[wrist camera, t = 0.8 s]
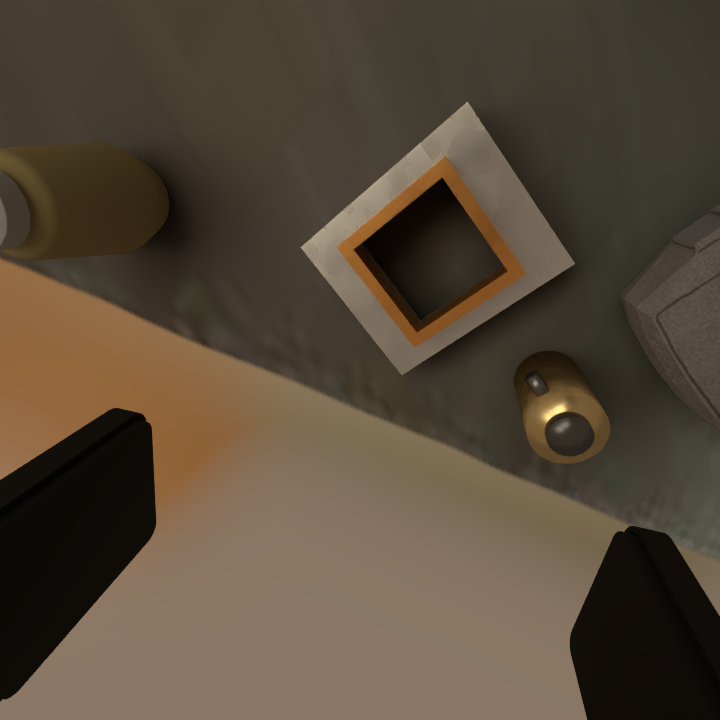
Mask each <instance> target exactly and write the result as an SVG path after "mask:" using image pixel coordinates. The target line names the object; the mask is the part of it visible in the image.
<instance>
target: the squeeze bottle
mask: <svg viewBox="0 0 720 720" xmlns="http://www.w3.org/2000/svg"><path fill="white" fill-rule="evenodd" d="M169 206H170V203H169V198H168V192H167V188H166V187H165V185H164V183H163V181H162V179H161V178H160V176H159V175H158V174H157V173H156V172H155V171H154V170H153V169H152V168H151V167H150V166H149V165H147V164H146V163H144V162H143V161H141V160H139V159H138V158H136V157H134V156H133V155H131V154H129V153H128V152H126V151H124V150H123V149H120V148H118V147H115V146H113V145H110V144H108V143H105V142H92V143H75V144H58V145H41V146H24V147H7V148H0V251H2V252H3V253H5V254H7V255H9V256H12V257H14V258H17V259H19V260H21V261H28V260H48V259H60V258H73V257H85V256H98V255H110V254H122V253H130V252H132V251H134V250H136V249H137V248H139V247H141V246H143V245H144V244H145V243H146V242H147V241H148V240H149V239H150V238H151V237H152V236H153V235H154V234H156V233H157V232H158V231H159V230H160V229H161V227H162V226H163V224H164V223H165V221H166V219H167V218H168V212H169Z"/></svg>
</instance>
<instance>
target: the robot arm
mask: <svg viewBox="0 0 720 720" xmlns="http://www.w3.org/2000/svg"><path fill="white" fill-rule="evenodd" d="M152 445H153V444H152V428H151V425H150V423H148V422H146V418H145V417H144V415H143V414H141V413H137V412H132V411H128V410H124V409H119V408H113V409H111V410H109V411H107V412H106V413H104V414H103V415H101V416H99V417H98V418H96V419H95V420H93V421H92V422H90V423H89V424H87V425H85V426H84V427H82V428H81V429H79V430H78V431H76V432H74V433H73V434H72V435H70V436H68V437H67V438H65V439H64V440H62V441H60V442H59V443H58V444H56V445H54V446H53V447H51V448H50V449H48V450H47V451H45V452H43V453H42V454H40V455H39V456H37V457H36V458H34V459H32V460H31V461H29V462H28V463H26V464H25V465H23V466H22V467H20V468H18V469H17V470H15V471H14V472H12V473H11V474H9V475H8V476H6V477H5V478H3V479H1V480H0V701H1V700H2V699H8V698H10V697H11V696H13V695H14V694H15V693H17V691H19V690H20V688H21V687H22V686H23V685H24V684H25V682H26V681H28V679H29V678H30V677H31V676H32V675H33V673H34V672H35V671H36V670H37V669H38V668H39V667H40V666H41V664H42V663H43V662H44V661H45V660H46V659H47V657H48V656H49V655H50V654H51V653H52V652H53V651H54V649H55V648H56V647H57V646H58V645H59V643H60V642H61V641H62V640H63V639H64V638H65V637H66V635H67V634H68V633H69V632H70V631H71V630H72V628H74V626H75V625H76V624H77V623H78V622H79V621H80V619H81V618H82V617H83V616H84V615H85V614H86V613H87V611H88V610H89V609H90V608H91V607H92V606H93V604H94V603H95V602H96V601H97V600H98V599H99V597H100V596H101V595H102V594H103V593H104V592H105V590H106V589H107V588H108V587H109V586H110V585H111V584H112V583H113V581H114V580H115V579H116V578H117V577H118V576H119V574H120V573H121V572H122V571H123V570H124V569H125V567H126V566H127V565H128V564H129V563H130V562H131V561H132V560H133V558H134V557H135V556H136V555H137V554H138V553H139V551H140V550H141V549H142V548H143V547H144V546H145V544H146V543H147V542H148V541H149V540H150V538H151V536H152V535H153V532H154V530H155V526H156V510H155V509H156V508H155V486H154V465H153V446H152ZM570 651H571V656H572V660H573V664H574V668H575V672H576V676H577V680H578V684H579V688H580V692H581V696H582V700H583V704H584V708H585V712H586V716H587V720H720V616H719V615H718V613H717V611H716V610H715V608H714V607H713V605H712V603H711V602H710V600H709V599H708V597H707V595H706V594H705V592H704V591H703V589H702V587H701V586H700V584H699V582H698V581H697V579H696V578H695V576H694V574H693V573H692V571H691V570H690V568H689V566H688V565H687V563H686V562H685V560H684V558H683V557H682V555H681V553H680V552H679V551H678V549H677V547H676V545H675V544H674V542H673V541H672V539H671V538H670V537H669V536H668V535H667V534H665V533H662V532H657V531H653V530H649V529H644V528H640V527H636V526H629V527H628V528H627V529H626V530H625V532H621V531H619V532H617V533H616V534H615V535H614V537H613V539H612V541H611V543H610V546H609V548H608V550H607V553H606V555H605V557H604V559H603V562H602V564H601V566H600V568H599V570H598V573H597V575H596V577H595V579H594V582H593V584H592V586H591V588H590V591H589V593H588V595H587V598H586V600H585V602H584V604H583V606H582V609H581V611H580V614H579V616H578V618H577V620H576V622H575V624H574V627H573V629H572V632H571V636H570Z"/></svg>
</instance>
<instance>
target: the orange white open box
mask: <svg viewBox="0 0 720 720" xmlns="http://www.w3.org/2000/svg"><path fill="white" fill-rule="evenodd" d="M442 178H443V179H444V181H445V182H446V183H447V185H448V186H449V188H450V189H451V191H452V192H453V193H454V195H455V196H456V198H457V199H458V201H459V202H460V203H461V205H462V206H463V208H464V209H465V211H466V212H467V213H468V215H469V216H470V218H471V219H472V221H473V222H474V223H475V225H476V226H477V228H478V229H479V231H480V232H481V233H482V235H483V236H484V238H485V239H486V241H487V242H488V244H489V245H490V246H491V248H492V249H493V251H494V252H495V254H496V255H497V256H498V258H499V259H500V261H501V262H502V264H501V265H500V266H498V267H497V268H496V269H494V270H493V271H491V272H490V273H488V274H487V275H485V276H484V277H482V278H481V279H480V280H478V281H477V282H475V283H474V284H472V285H471V286H469V287H468V288H466V289H465V290H464V291H462V292H461V293H459V294H458V295H456V296H455V297H453V298H452V299H450V300H449V301H448V302H446V303H445V304H443V305H442V306H440V307H439V308H437V309H436V310H434V311H433V312H432V313H430V314H429V315H427V316H426V317H424V318H423V319H421V320H420V319H419V317H418V316H417V315H416V313H415V312H414V311H413V309H412V308H411V307H410V305H409V304H408V303H407V302H406V300H405V299H404V298H403V296H402V295H401V294H400V292H399V291H398V290H397V288H396V287H395V286H394V284H393V283H392V282H391V280H390V279H389V278H388V276H387V275H386V274H385V272H384V271H383V270H382V269H381V267H380V266H379V265H378V263H377V262H376V261H375V259H374V258H373V257H372V255H371V254H370V253H369V251H368V250H367V249H366V247H365V246H364V245H363V243H364V242H365V241H366V240H367V239H368V238H370V237H371V236H372V235H373V234H375V233H376V232H377V231H378V230H379V229H381V228H382V227H383V226H384V225H386V224H387V223H388V222H389V221H390V220H392V219H393V218H394V217H395V216H397V215H398V214H399V213H400V212H401V211H403V210H404V209H405V208H406V207H408V206H409V205H410V204H411V203H412V202H414V201H415V200H416V199H417V198H419V197H420V196H421V195H422V194H424V193H425V192H426V191H427V190H428V189H430V188H431V187H432V186H433V185H435V184H436V183H437V182H438V181H439V180H441V179H442ZM301 248H302V250H303V251H304V252H305V253H306V255H307V256H308V257H309V258H310V260H311V261H312V262H313V263H314V265H315V266H316V267H317V269H318V270H319V271H320V272H321V274H322V275H323V276H324V277H325V279H326V280H327V281H328V282H329V284H330V285H331V286H332V288H333V289H334V290H335V291H336V293H337V294H338V295H339V296H340V298H341V299H342V300H343V301H344V303H345V304H346V305H347V307H348V308H349V309H350V310H351V312H352V313H353V314H354V315H355V317H356V318H357V319H358V321H359V322H360V323H361V324H362V326H363V327H364V328H365V329H366V331H367V332H368V333H369V334H370V336H371V337H372V338H373V340H374V341H375V342H376V343H377V345H378V346H379V347H380V348H381V350H382V351H383V352H384V353H385V355H386V356H387V357H388V359H389V360H390V361H391V362H392V364H393V365H394V366H395V367H396V369H397V370H398V371H399V372H400V374H401V375H403V374H404V373H406V372H407V371H409V370H411V369H412V368H414V367H415V366H417V365H418V364H420V363H421V362H423V361H425V360H426V359H428V358H429V357H431V356H432V355H434V354H435V353H437V352H439V351H440V350H442V349H443V348H445V347H446V346H448V345H449V344H451V343H453V342H454V341H456V340H457V339H459V338H460V337H462V336H463V335H465V334H467V333H468V332H470V331H471V330H473V329H474V328H476V327H477V326H479V325H481V324H482V323H484V322H485V321H487V320H488V319H490V318H492V317H493V316H495V315H496V314H498V313H499V312H501V311H502V310H504V309H506V308H507V307H509V306H510V305H512V304H513V303H515V302H516V301H518V300H520V299H521V298H523V297H524V296H526V295H527V294H529V293H530V292H532V291H534V290H535V289H537V288H538V287H540V286H541V285H543V284H544V283H546V282H548V281H549V280H551V279H552V278H554V277H555V276H557V275H558V274H560V273H562V272H563V271H565V270H566V269H568V268H569V267H571V266H572V265H574V264H575V263H574V262H573V260H572V259H571V257H570V255H569V254H568V252H567V251H566V249H565V248H564V246H563V245H562V243H561V242H560V240H559V239H558V237H557V236H556V234H555V233H554V231H553V230H552V228H551V227H550V225H549V224H548V222H547V221H546V219H545V218H544V216H543V215H542V213H541V212H540V210H539V209H538V207H537V206H536V204H535V203H534V201H533V200H532V198H531V197H530V195H529V194H528V192H527V191H526V189H525V188H524V186H523V185H522V183H521V182H520V180H519V179H518V177H517V176H516V174H515V173H514V171H513V170H512V168H511V167H510V165H509V164H508V162H507V161H506V159H505V158H504V156H503V155H502V153H501V152H500V150H499V149H498V147H497V145H496V144H495V142H494V141H493V139H492V138H491V136H490V135H489V133H488V132H487V130H486V129H485V127H484V126H483V124H482V123H481V121H480V120H479V118H478V117H477V115H476V114H475V112H474V111H473V109H472V108H471V106H470V105H469V103H468V102H467V103H466V104H465V105H463V106H462V107H461V108H460V109H459V110H458V111H457V112H455V113H454V114H453V115H452V116H451V117H450V118H449V119H447V120H446V121H445V122H444V123H443V124H442V125H441V126H439V127H438V128H437V129H436V130H435V131H434V132H432V133H431V134H430V135H429V136H428V137H427V138H426V139H424V140H423V141H422V142H421V143H420V144H419V145H418V146H416V147H415V148H414V149H413V150H412V151H411V152H410V153H408V154H407V155H406V156H405V157H404V158H403V159H402V160H400V161H399V162H398V163H397V164H396V165H395V166H394V167H392V168H391V169H390V170H389V171H388V172H387V173H385V174H384V175H383V176H382V177H381V178H380V179H379V180H377V181H376V182H375V183H374V184H373V185H372V186H371V187H369V188H368V189H367V190H366V191H365V192H364V193H363V194H361V195H360V196H359V197H358V198H357V199H356V200H355V201H353V202H352V203H351V204H350V205H349V206H348V207H347V208H345V209H344V210H343V211H342V212H341V213H340V214H339V215H337V216H336V217H335V218H334V219H333V220H332V221H330V222H329V223H328V224H327V225H326V226H325V227H324V228H322V229H321V230H320V231H319V232H318V233H317V234H316V235H314V236H313V237H312V238H311V239H310V240H309V241H308V242H306V243H305V244H304V245H303V246H302V247H301Z"/></svg>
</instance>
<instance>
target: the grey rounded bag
mask: <svg viewBox="0 0 720 720" xmlns="http://www.w3.org/2000/svg"><path fill="white" fill-rule="evenodd" d="M709 210H711V211H709V212H708V213H706V214H705V215H703V216H702V217H700V218H699V219H698V220H696V221H695V222H693V223H692V224H690V225H689V226H687V227H686V228H684V229H683V230H681V231H680V232H679V233H677V234H676V235H674V236H673V237H672V238H671V242H669V243H668V244H666V245H665V246H664V247H663V248H662V250H661V251H660V252H659V253H658V254H657V255H656V256H655V257H654V258H653V259H652V260H651V261H650V262H649V263H648V264H647V266H646V267H645V268H644V269H643V270H642V271H641V272H640V273H639V274H638V275H637V276H636V277H635V278H634V279H633V280H632V282H631V283H630V284H629V285H628V286H627V287H626V288H625V289H624V290H623V291H622V292H621V293H620V294H619V295H620V298H621V302H622V305H623V308H624V311H625V314H626V317H627V320H628V323H629V326H630V327H631V329H632V331H633V333H634V334H635V336H636V338H637V340H638V341H639V343H640V345H641V347H642V348H643V350H644V352H645V354H646V355H647V357H648V359H649V360H650V362H651V363H652V365H653V367H654V368H655V370H656V371H657V372H658V373H659V374H660V376H661V377H662V378H663V379H664V381H665V382H666V383H667V384H668V386H669V387H670V388H671V389H672V391H673V392H674V393H675V394H676V396H677V397H678V398H679V399H680V400H681V401H682V402H683V403H684V404H685V405H687V406H688V407H689V408H690V409H691V410H693V411H694V412H695V413H696V414H697V415H699V416H700V417H701V418H702V419H703V420H704V421H706V422H707V423H708V424H710V425H711V426H713V427H714V428H715V429H717V430H718V431H720V203H719V204H717V205H716V206H714V207H712V208H711V209H709Z"/></svg>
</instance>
